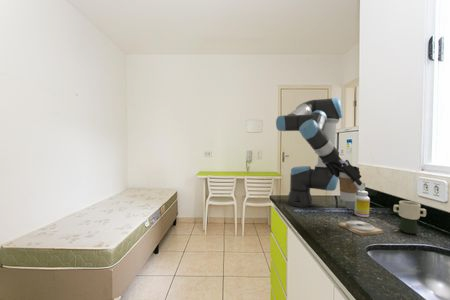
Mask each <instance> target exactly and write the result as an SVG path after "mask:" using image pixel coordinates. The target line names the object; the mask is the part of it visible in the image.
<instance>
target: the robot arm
mask: <svg viewBox="0 0 450 300" xmlns="http://www.w3.org/2000/svg"><path fill="white" fill-rule="evenodd" d="M342 118H343V110H342V101H341V99H340V98H336V97H335V98H332V97H331V98H322V99H319V98H318V99H311V100H307V101H305V102H302V103H300V104H299V105H297V107H295V109H294V110H292V111H291V112H290V113H287V115H285V114H284V115H278V116H277V118H276V119H275V126H276V130H277V131H279V132H299V133H300V135H301V137H302V138H303V139H304V140H305V141H306V143H308V145H309V146H310V148H312V150H313V151H314V152H315V153H314V154H316V155H318V158H317V164H316V165H315V166H314V168H312V166H310V165H309V166H307V165H306V166H305V165H303V166H293V167H292V168H291V169H290V180H289V181H290V182H289V183H290V184H289V192H288V195H287V198H286V203H287V204H288V205H290V206H293V207H299V208H309V207H308V206H311V205H312V206H313V205H314V202H313V197H312V195H311V189H315V190H321V191H322V190H323V191H327V192H328V191H335V190H336V189H337V186H338V183H339V176H340V172H339V170H342V171H343V172H344V173H345V174H346V175H347V176H349V177H350V178H351V179H352V182H353V183H354V184H355V185H356V187H357V188H358V189H359V191H361V192H362V191H363V189H364V188H365V189H366V185H365V186H364V185H363V184H362V183H363V182H362V180H361V178H362V175H361V173H360V174H359V173H358V172H357V171H356V170H355V169H354V168H353V166H354V165H352V164H351V163H350V161H349V160H348V159H345V160H343V159H342V158H341V157H340V151H339V150H338V149H337V147H336V146H335V145H336V133H337V130H336V129H337V124H338V123H339V122H340V119H342ZM341 166H342V167H341ZM340 167H341V168H340ZM312 206H311V207H312Z"/></svg>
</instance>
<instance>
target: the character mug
mask: <svg viewBox="0 0 450 300" xmlns="http://www.w3.org/2000/svg"><path fill="white" fill-rule="evenodd" d="M398 203H399V204H394V205H393V212H394V213H398V215H399V216H400V217H401V218H400V223H399V226H398V229H399V230H400V231H402V232H404V233H407V234H411V235H412V234H413V235H414V234H418V231H419V230H418V222H417V220H419V219H420V217H423V218H424V217H426V216H427V209H425V208H421V206H422V205H421V204H420V203H419V202H415V201H410V200H399V201H398ZM397 208H398V210H397ZM421 212H422V213H421Z"/></svg>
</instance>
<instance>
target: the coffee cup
mask: <svg viewBox="0 0 450 300" xmlns="http://www.w3.org/2000/svg"><path fill="white" fill-rule="evenodd" d="M352 166H353V168H354V169H355V170H356V171H357V172H358V173H359V174H360V175H361V171H360V167H358V166H354V165H352ZM341 167H342V166H341ZM341 167H340V168H341ZM339 172H340V176H339V179H338V183H339V198H340V200H341V201H345V202H346V201H355V199H356V192H357V187H356V185H355V184H354V183H353V182H352V179H351V178H350V177H349V176H347V175H346V174H345V173H344V172H343V171H342V170H339Z"/></svg>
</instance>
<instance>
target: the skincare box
mask: <svg viewBox="0 0 450 300" xmlns="http://www.w3.org/2000/svg"><path fill="white" fill-rule="evenodd" d="M362 184H363V185H364V186H365V188H364V189H363V191H366V183H365V182H362ZM358 191H359V189H358V188H357V192H358ZM357 192H356V195H358V193H357ZM346 207H347V208H350V209H349V210H351V209H353V210H352V211H355V201H345V208H346ZM347 208H346V209H347Z"/></svg>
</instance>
